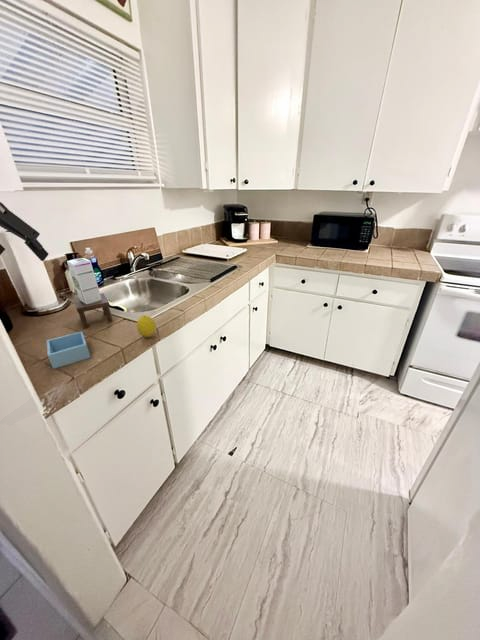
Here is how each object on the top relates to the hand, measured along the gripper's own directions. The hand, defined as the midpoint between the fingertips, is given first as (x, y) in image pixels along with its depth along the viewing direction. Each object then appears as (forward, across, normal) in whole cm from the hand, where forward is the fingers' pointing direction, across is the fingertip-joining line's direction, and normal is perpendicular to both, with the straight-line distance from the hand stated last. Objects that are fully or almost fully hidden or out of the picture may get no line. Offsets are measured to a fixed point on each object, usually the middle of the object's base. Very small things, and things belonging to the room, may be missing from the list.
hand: (23, 254), depth 74 cm
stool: (+29, -8, +3) cm, 31 cm away
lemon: (+24, -33, +9) cm, 41 cm away
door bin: (+18, -15, +21) cm, 31 cm away
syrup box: (+22, -8, -1) cm, 24 cm away
